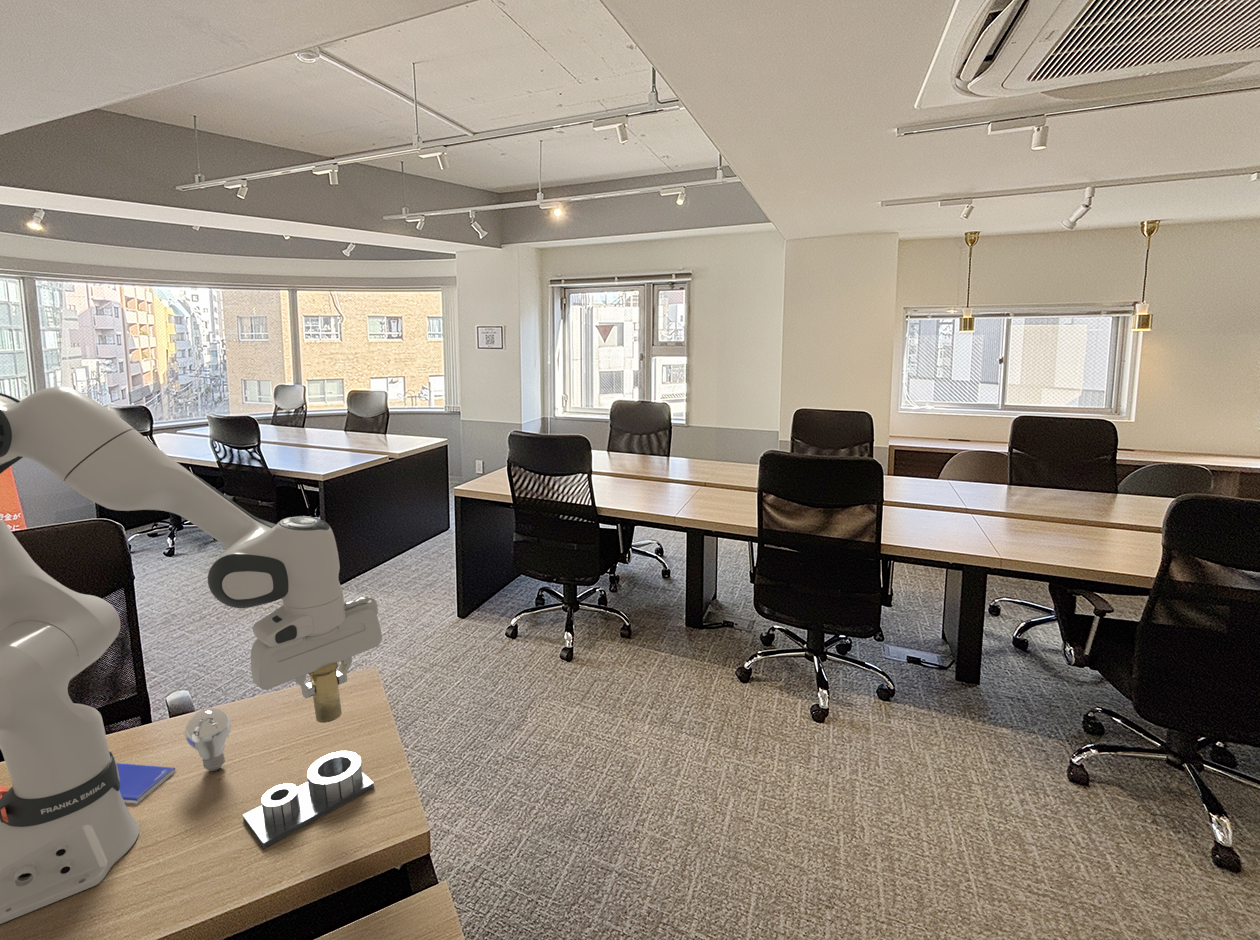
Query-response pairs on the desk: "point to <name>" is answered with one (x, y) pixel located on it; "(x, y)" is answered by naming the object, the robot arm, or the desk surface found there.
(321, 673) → the brass fitting
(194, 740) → the light bulb
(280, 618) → the robot arm
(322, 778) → the manifold plate
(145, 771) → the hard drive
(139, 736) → the desk surface
